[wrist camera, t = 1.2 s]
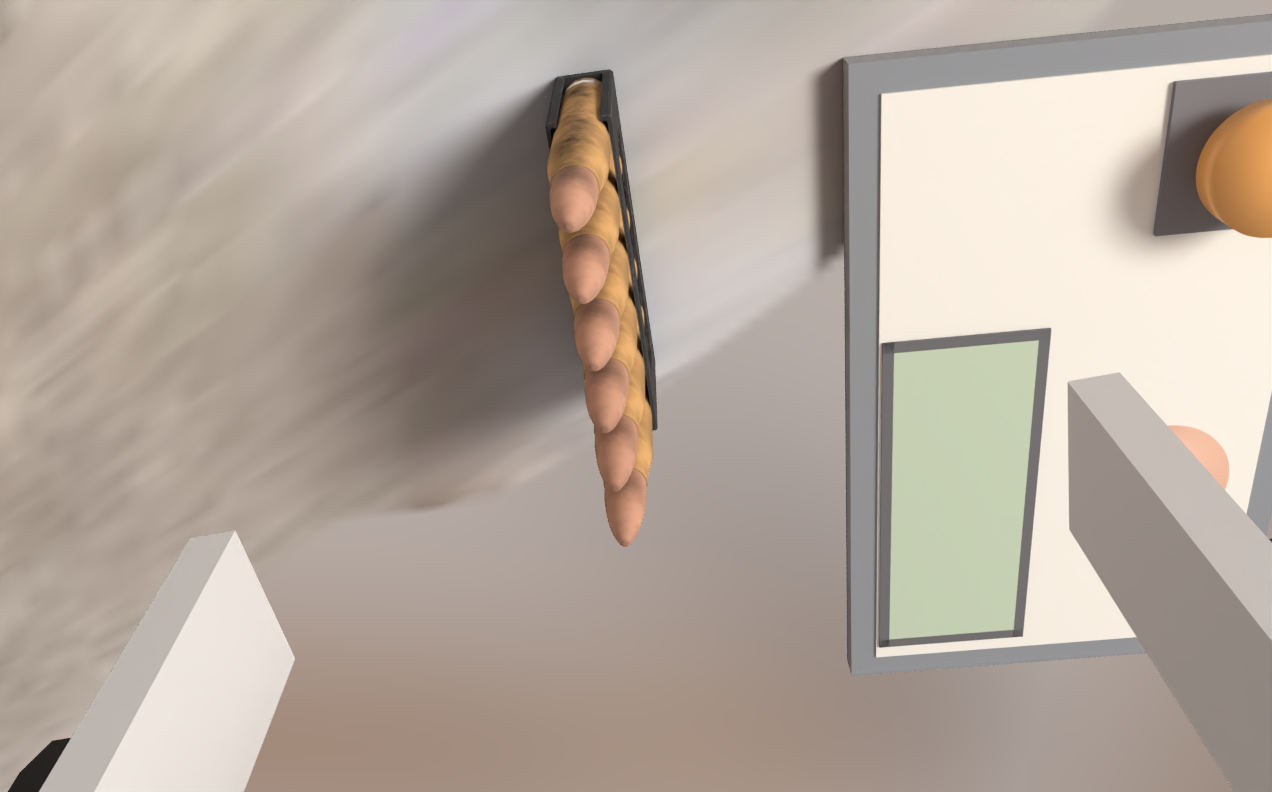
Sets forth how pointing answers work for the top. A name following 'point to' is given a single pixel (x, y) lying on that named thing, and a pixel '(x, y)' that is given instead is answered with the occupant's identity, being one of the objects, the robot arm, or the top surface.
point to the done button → (1240, 171)
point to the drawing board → (1034, 322)
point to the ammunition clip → (604, 287)
